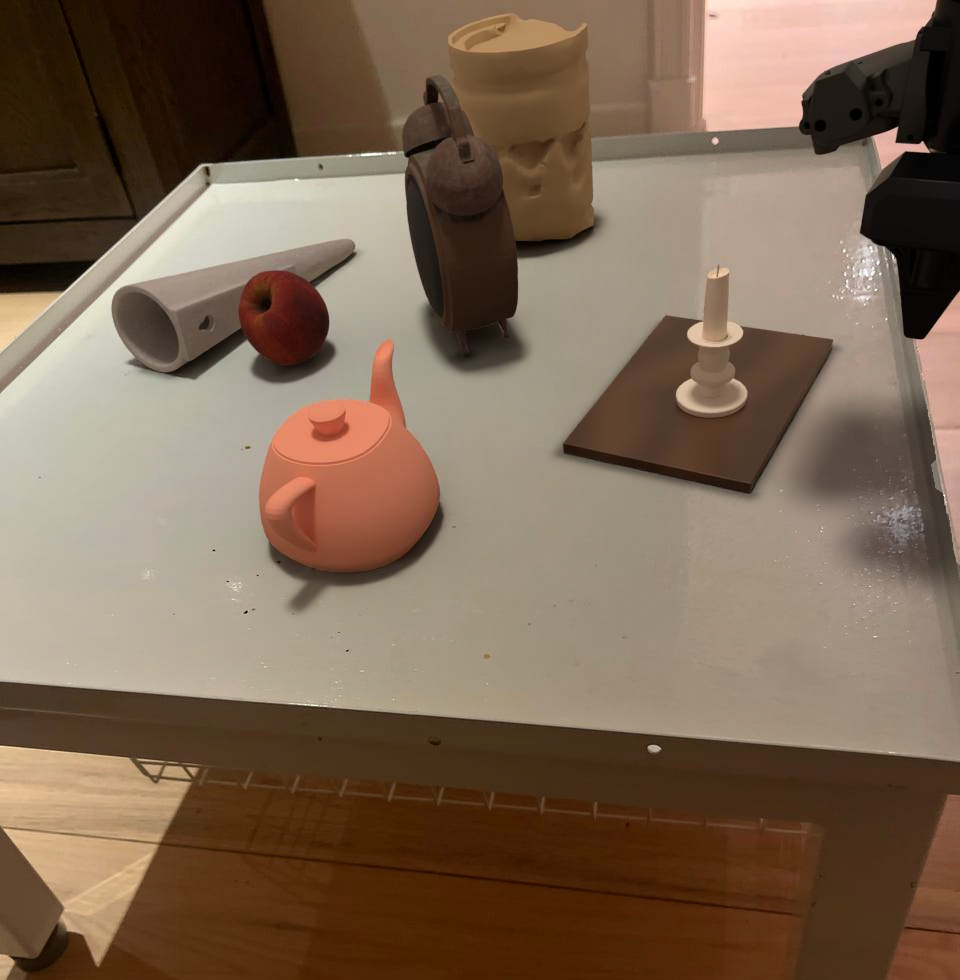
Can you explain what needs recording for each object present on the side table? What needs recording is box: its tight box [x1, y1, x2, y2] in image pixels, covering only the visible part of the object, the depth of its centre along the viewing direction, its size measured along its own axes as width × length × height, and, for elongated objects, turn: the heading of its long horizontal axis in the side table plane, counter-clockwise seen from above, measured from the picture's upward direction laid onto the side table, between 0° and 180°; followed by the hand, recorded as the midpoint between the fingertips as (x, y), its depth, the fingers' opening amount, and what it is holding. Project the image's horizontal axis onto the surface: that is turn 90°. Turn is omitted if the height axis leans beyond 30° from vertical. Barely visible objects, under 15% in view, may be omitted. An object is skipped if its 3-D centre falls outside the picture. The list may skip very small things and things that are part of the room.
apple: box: [238, 270, 330, 366], centre depth 83 cm, size 7×8×8 cm
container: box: [447, 12, 595, 242], centre depth 92 cm, size 13×13×18 cm
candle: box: [676, 263, 747, 418], centre depth 68 cm, size 5×5×10 cm
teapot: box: [258, 339, 441, 573], centre depth 65 cm, size 12×18×10 cm
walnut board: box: [562, 314, 834, 494], centre depth 73 cm, size 14×20×1 cm
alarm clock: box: [401, 74, 519, 357], centre depth 78 cm, size 15×7×20 cm, turn 15°
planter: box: [110, 238, 356, 373], centre depth 93 cm, size 8×9×26 cm
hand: (932, 299), depth 57 cm, fingers open, 9 cm apart
